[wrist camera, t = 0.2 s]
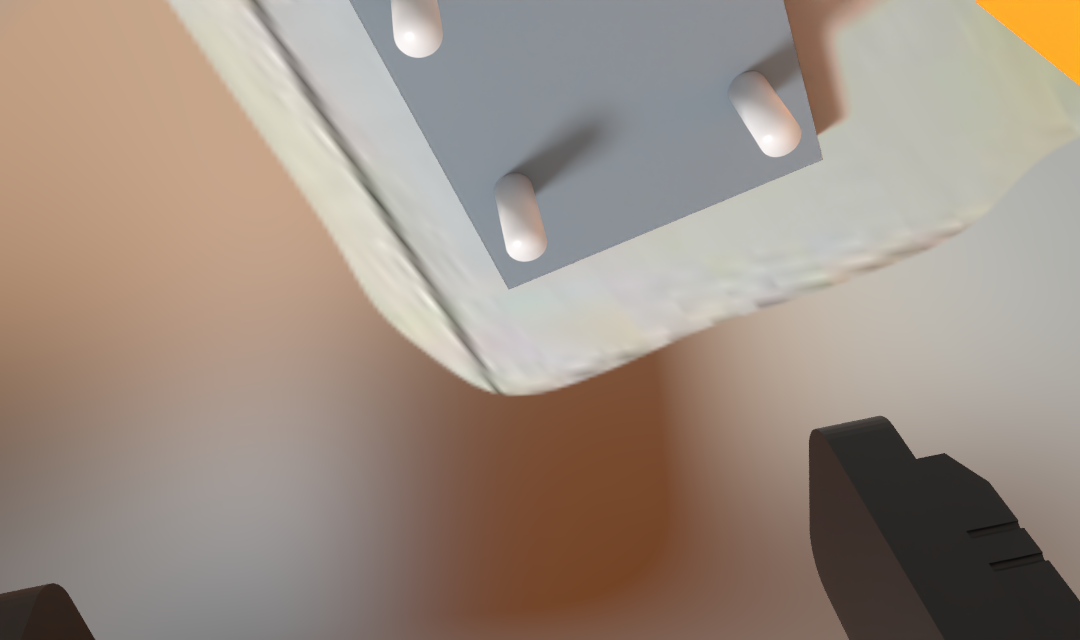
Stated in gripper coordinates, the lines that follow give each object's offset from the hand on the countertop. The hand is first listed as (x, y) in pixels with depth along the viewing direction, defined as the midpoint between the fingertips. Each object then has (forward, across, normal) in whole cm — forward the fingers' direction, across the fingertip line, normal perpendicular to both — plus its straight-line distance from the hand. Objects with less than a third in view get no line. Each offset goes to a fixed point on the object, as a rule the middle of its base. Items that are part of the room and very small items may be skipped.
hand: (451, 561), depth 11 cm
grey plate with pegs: (+21, -5, +1) cm, 22 cm away
